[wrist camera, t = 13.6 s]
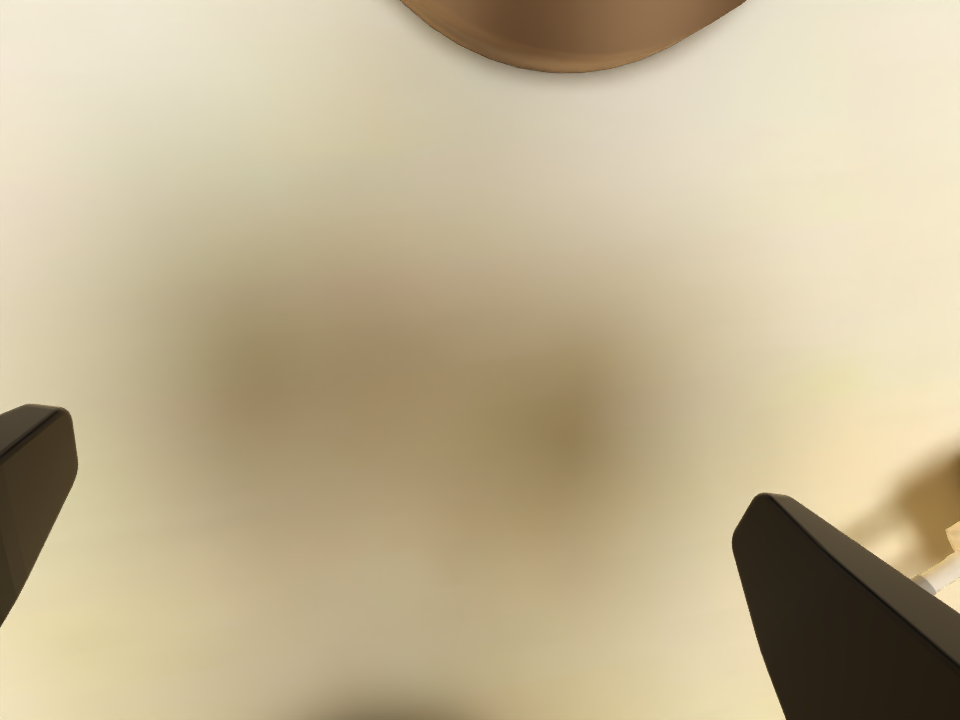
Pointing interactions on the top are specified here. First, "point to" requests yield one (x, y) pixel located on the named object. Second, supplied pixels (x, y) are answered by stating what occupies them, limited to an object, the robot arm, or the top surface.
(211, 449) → the top surface
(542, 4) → the walnut base
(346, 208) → the top surface
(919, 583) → the power adapter
